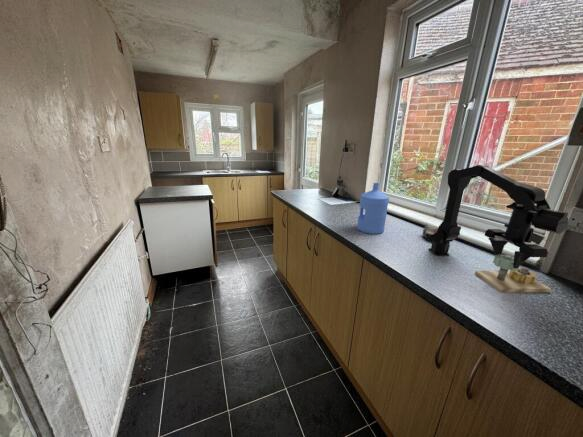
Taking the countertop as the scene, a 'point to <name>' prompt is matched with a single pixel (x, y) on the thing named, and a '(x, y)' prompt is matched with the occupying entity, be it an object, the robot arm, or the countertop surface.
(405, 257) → the countertop surface
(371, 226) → the water jug
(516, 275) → the brass gear
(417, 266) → the countertop surface
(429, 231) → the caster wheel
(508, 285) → the gear board
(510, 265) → the green gear
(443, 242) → the robot arm
